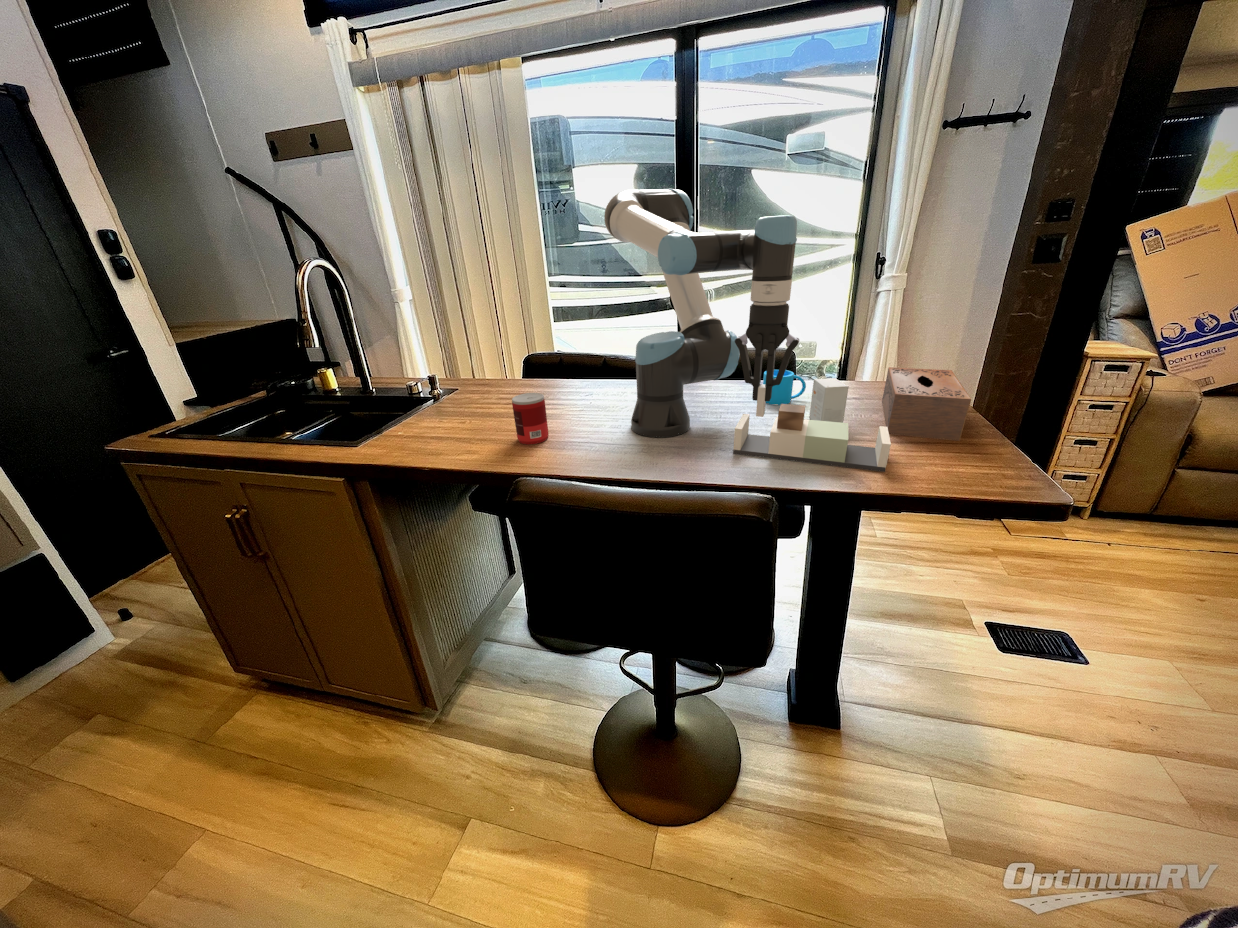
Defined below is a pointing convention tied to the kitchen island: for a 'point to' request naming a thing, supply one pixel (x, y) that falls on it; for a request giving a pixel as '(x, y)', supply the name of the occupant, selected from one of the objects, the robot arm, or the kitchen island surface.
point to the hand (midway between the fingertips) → (760, 414)
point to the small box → (828, 400)
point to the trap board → (850, 459)
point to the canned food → (530, 418)
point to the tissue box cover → (924, 403)
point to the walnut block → (791, 417)
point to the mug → (784, 388)
